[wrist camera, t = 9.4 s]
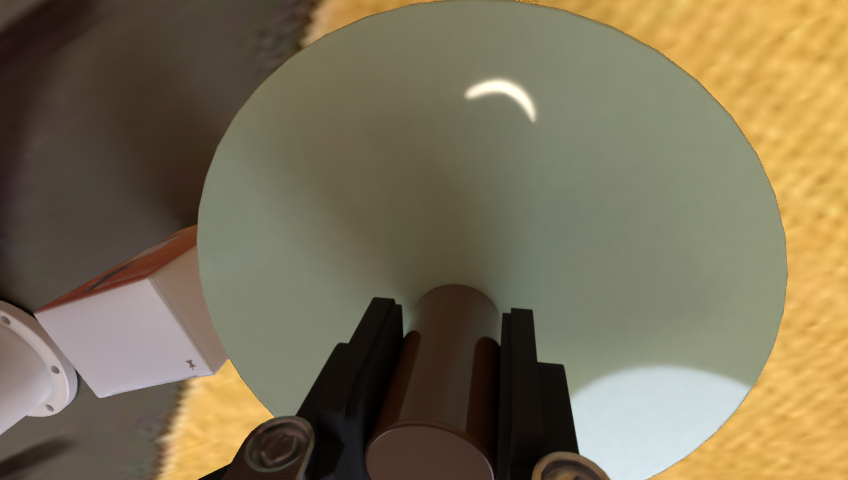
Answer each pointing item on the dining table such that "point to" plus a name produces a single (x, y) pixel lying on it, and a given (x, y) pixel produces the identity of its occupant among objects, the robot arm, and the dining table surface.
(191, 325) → the small box
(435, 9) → the pot lid
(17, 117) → the dining table surface
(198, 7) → the dining table surface
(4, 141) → the dining table surface
